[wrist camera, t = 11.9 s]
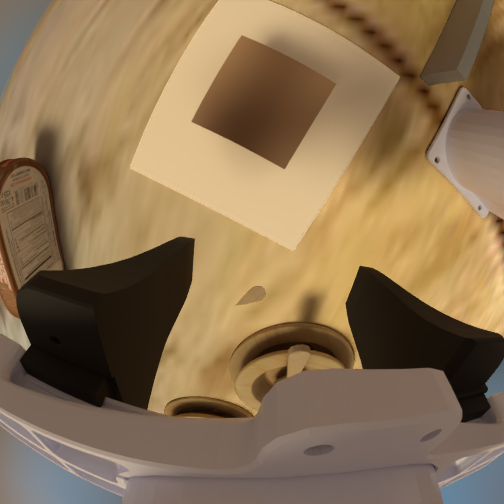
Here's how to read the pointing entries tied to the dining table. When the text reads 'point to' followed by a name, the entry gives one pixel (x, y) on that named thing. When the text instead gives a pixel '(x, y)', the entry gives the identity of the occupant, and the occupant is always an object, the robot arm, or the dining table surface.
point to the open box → (458, 42)
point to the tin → (25, 227)
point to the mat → (243, 160)
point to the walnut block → (263, 101)
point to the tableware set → (269, 364)
